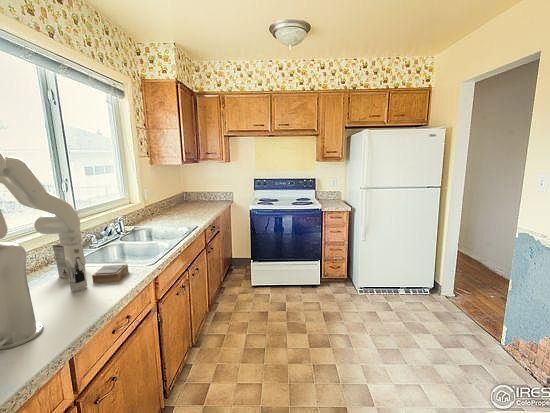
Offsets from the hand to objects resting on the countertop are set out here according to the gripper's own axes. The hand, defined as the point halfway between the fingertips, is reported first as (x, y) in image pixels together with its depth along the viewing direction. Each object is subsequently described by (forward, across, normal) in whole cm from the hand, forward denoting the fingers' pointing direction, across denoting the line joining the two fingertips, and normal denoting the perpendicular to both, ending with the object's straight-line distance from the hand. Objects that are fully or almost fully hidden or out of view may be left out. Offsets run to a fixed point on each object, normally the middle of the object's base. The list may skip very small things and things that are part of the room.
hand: (77, 279), depth 120 cm
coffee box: (+5, +22, -4) cm, 23 cm away
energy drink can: (+5, 0, 0) cm, 5 cm away
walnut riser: (+5, +1, -13) cm, 14 cm away
